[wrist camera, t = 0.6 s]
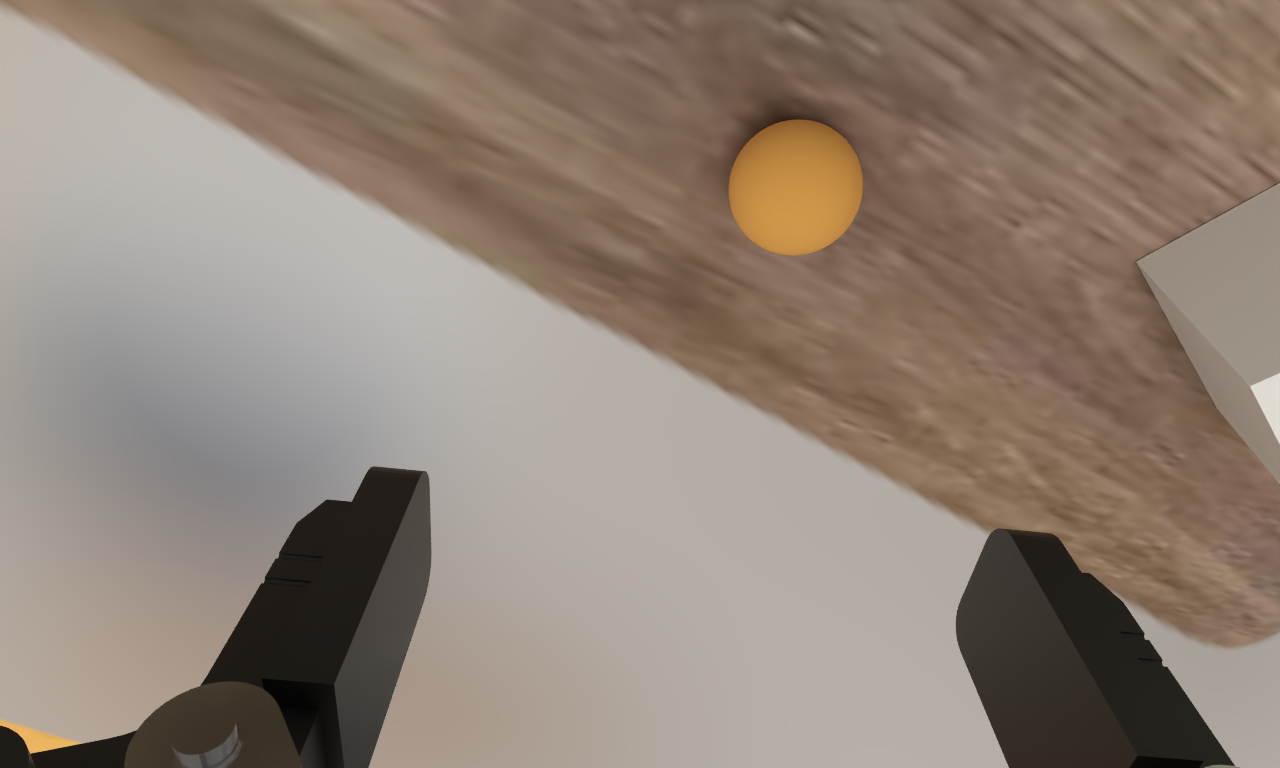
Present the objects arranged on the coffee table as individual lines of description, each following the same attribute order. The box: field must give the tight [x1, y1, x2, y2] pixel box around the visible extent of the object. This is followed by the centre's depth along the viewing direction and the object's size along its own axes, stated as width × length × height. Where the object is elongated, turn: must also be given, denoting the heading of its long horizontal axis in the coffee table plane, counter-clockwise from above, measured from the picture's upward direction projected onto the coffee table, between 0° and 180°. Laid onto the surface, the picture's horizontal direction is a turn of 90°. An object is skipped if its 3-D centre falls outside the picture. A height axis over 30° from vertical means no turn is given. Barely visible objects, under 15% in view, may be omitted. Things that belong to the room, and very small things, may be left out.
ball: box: [729, 119, 863, 255], centre depth 30 cm, size 5×5×5 cm
